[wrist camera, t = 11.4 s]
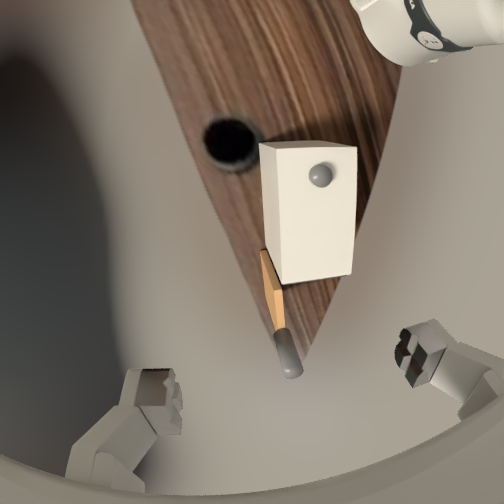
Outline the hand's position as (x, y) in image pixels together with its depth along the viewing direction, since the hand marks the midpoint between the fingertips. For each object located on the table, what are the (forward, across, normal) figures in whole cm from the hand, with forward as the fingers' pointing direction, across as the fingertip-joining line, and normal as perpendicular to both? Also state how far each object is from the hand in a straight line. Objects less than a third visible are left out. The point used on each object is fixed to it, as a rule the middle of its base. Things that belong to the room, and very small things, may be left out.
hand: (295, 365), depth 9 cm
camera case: (+34, +8, -3) cm, 35 cm away
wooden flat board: (+34, +4, -16) cm, 38 cm away
